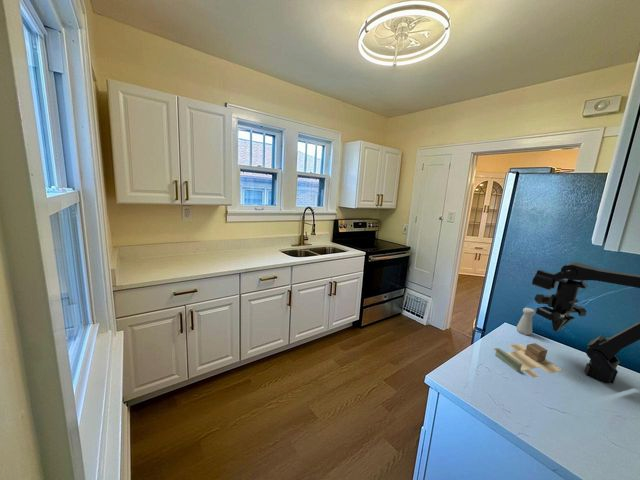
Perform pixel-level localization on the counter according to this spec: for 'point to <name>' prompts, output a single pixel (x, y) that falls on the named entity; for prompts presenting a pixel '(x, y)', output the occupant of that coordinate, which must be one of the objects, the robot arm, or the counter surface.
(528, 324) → the salt shaker
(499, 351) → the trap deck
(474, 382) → the counter surface
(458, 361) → the counter surface
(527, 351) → the walnut block
